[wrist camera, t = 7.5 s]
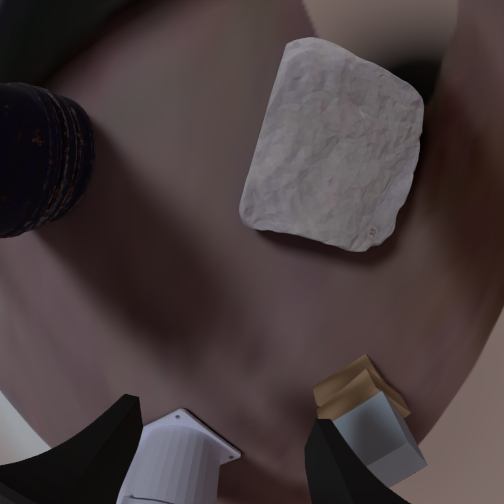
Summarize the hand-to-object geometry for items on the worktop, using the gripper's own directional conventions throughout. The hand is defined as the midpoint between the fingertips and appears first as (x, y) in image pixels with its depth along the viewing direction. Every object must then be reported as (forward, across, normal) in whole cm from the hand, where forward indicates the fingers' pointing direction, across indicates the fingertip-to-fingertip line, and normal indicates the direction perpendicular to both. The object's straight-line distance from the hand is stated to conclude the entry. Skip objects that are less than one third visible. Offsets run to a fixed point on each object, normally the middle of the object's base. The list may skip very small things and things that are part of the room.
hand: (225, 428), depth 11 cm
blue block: (+6, -10, +6) cm, 13 cm away
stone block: (+11, -5, -12) cm, 17 cm away
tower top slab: (+8, -10, +6) cm, 14 cm away
